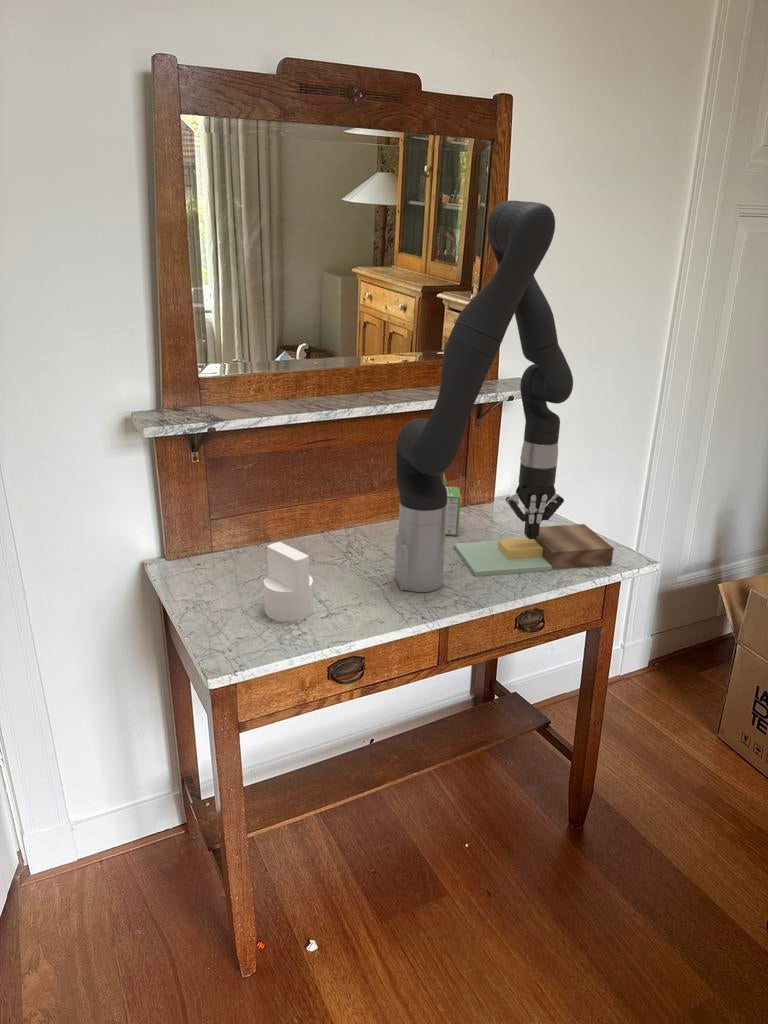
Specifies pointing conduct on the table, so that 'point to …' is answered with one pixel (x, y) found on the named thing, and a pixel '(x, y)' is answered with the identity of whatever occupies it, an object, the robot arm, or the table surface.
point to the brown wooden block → (573, 547)
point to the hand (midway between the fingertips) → (531, 537)
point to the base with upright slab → (287, 584)
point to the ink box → (452, 510)
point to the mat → (496, 560)
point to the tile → (520, 548)
